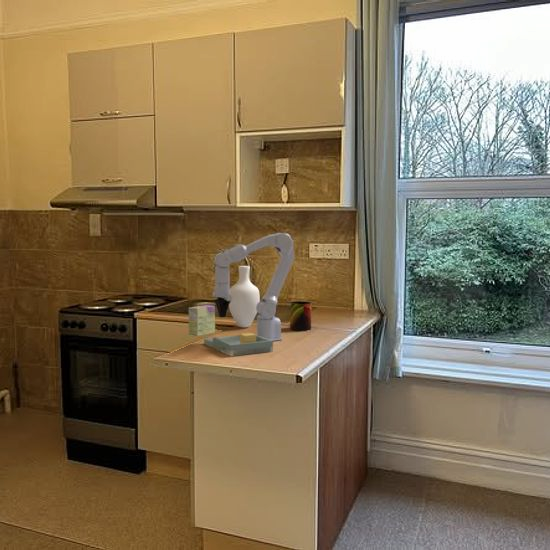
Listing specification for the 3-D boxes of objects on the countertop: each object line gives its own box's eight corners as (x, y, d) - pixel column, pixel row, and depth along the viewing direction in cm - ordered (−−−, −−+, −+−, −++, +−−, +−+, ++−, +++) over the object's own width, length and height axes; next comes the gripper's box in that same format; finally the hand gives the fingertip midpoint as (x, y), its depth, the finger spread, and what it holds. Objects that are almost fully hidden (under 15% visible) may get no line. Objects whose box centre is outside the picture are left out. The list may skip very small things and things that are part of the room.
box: (206, 331, 243) (206, 304, 242) (215, 333, 240) (215, 305, 239) (188, 334, 235) (188, 307, 234) (197, 336, 232) (197, 308, 231)
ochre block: (250, 344, 206) (250, 332, 206) (256, 347, 202) (256, 334, 202) (239, 346, 204) (239, 333, 204) (245, 348, 200) (245, 336, 200)
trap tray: (243, 339, 225) (243, 329, 225) (272, 351, 204) (272, 340, 204) (204, 343, 217) (204, 333, 217) (230, 356, 196) (230, 345, 196)
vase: (229, 324, 261) (229, 265, 259) (259, 324, 261) (259, 265, 259) (227, 329, 247) (227, 267, 244) (259, 330, 247) (259, 267, 245)
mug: (305, 325, 260) (306, 300, 259) (313, 330, 246) (314, 304, 245) (285, 326, 258) (285, 300, 257) (292, 331, 244) (292, 304, 243)
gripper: (205, 281, 224) (205, 315, 225) (220, 285, 211) (220, 320, 212) (221, 281, 227) (221, 313, 228) (237, 284, 215) (237, 319, 216)
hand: (222, 317), depth 221 cm, fingers closed
